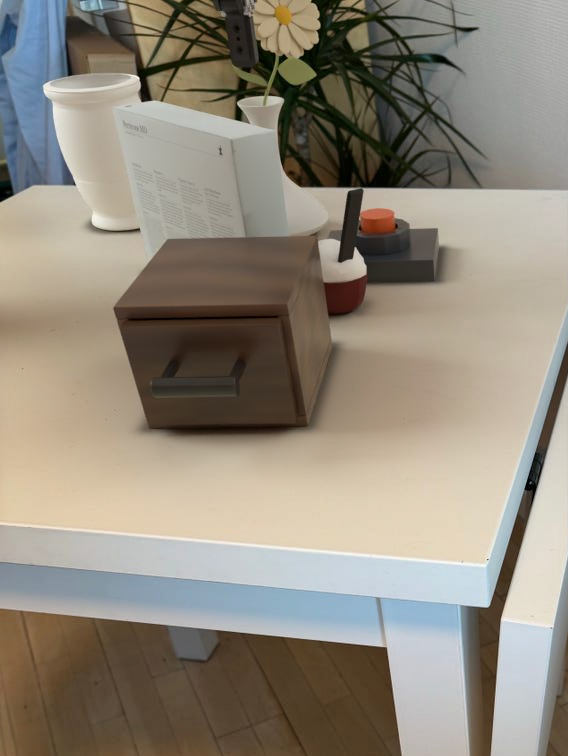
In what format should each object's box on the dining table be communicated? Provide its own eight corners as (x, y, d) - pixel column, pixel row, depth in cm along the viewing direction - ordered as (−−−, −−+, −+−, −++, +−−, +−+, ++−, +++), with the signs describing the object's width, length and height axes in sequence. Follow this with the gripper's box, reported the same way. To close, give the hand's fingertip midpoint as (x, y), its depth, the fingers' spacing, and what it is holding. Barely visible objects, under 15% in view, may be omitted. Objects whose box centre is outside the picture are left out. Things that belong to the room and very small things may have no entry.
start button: (359, 237, 94) (357, 219, 93) (363, 225, 97) (361, 208, 96) (394, 236, 94) (392, 218, 93) (396, 225, 97) (395, 207, 96)
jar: (187, 210, 114) (156, 72, 104) (146, 237, 107) (109, 91, 97) (111, 206, 116) (74, 70, 106) (67, 232, 109) (22, 89, 99)
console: (320, 283, 94) (314, 244, 92) (333, 250, 102) (328, 213, 99) (434, 281, 94) (432, 241, 92) (439, 248, 102) (437, 210, 99)
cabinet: (307, 426, 72) (287, 303, 65) (148, 428, 72) (112, 307, 66) (332, 346, 83) (317, 235, 76) (194, 349, 83) (167, 238, 77)
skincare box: (305, 307, 90) (278, 128, 79) (260, 324, 87) (225, 140, 76) (191, 258, 101) (154, 96, 90) (148, 272, 98) (104, 105, 88)
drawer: (286, 451, 67) (267, 349, 62) (131, 454, 67) (99, 352, 62) (320, 348, 80) (307, 257, 75) (191, 350, 81) (169, 260, 75)
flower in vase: (234, 256, 101) (180, -18, 85) (231, 224, 110) (181, -31, 93) (350, 244, 103) (319, -26, 87) (338, 214, 112) (308, -38, 95)
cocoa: (301, 296, 92) (281, 168, 84) (361, 288, 93) (347, 160, 85) (316, 333, 85) (296, 197, 77) (381, 323, 86) (368, 188, 78)
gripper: (182, -191, 76) (221, 52, 87) (135, -196, 66) (186, 80, 77) (271, -191, 76) (298, 53, 87) (238, -196, 66) (274, 80, 77)
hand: (245, 65), depth 82 cm, fingers closed
